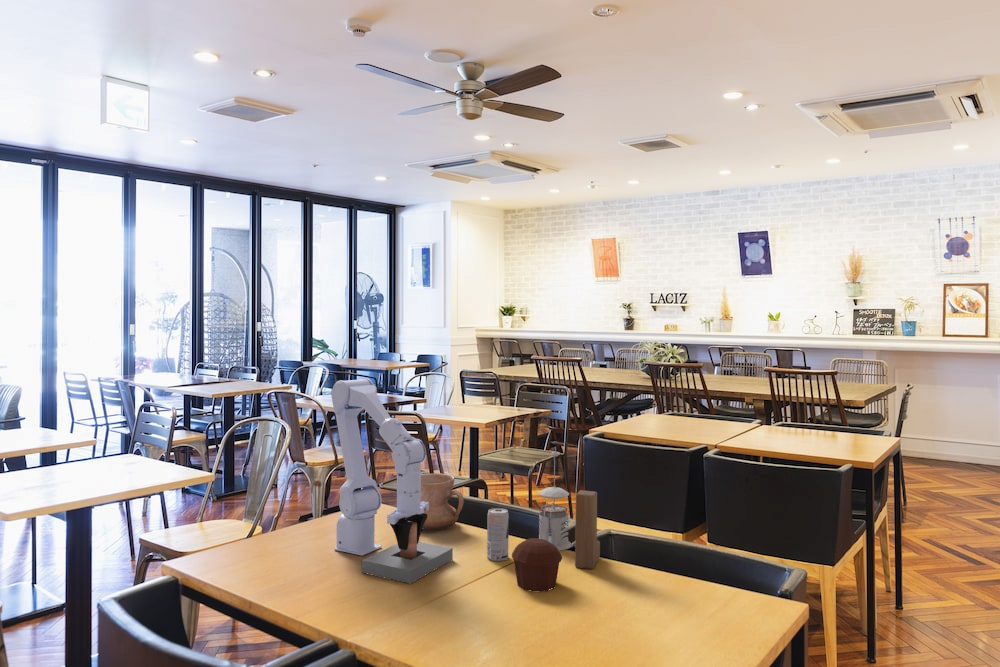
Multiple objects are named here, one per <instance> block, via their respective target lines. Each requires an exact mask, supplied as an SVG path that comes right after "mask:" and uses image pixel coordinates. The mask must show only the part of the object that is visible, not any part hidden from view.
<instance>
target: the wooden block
mask: <svg viewBox="0 0 1000 667" xmlns="http://www.w3.org/2000/svg"><path fill="white" fill-rule="evenodd" d="M597 531H598V492H597V491H592V490H591V491H590V490H581V489H580V490H578V492H577V493H576V494H575V533H574V535H575V538H574V539H575V542H574V544H575V546H574V548H575V550H574V552H575V553H574V556H575V557H574V566H575V568H577V569H579V568H580V569H586V570H593V569H594V568H595V567H596V564H597V563H598V561H599V560H600V557H601V542H600V540H598V532H597Z"/></svg>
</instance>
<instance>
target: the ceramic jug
mask: <svg viewBox="0 0 1000 667" xmlns="http://www.w3.org/2000/svg"><path fill="white" fill-rule="evenodd" d="M454 483H455V477H454V476H453V475H452V474H451V475H450V474H447V473H424V474H422V473H421V502H422V501H423V502H429V510H427V511H425V510H424V513H425V514H427V519H426V521H425V523H424V525H423V527H422V530H425V531H427V530H428V531H437V530H442V529H443V530H444V529H447V528H449V527H451V526H453V525H455V524H456V523H457V521H458V520H459V515H460V513H461V511H462V510H463V508H464V501H465V500H464V496H463V493H462V492H460V491H459V490H456V489H454V490H453V488H454ZM453 496H456V497H457V500H458V505H457V508H455V507H453V506H452V505H450V503H448V501H449V500H450V498H451V497H453Z"/></svg>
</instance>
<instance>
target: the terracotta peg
mask: <svg viewBox="0 0 1000 667" xmlns="http://www.w3.org/2000/svg"><path fill="white" fill-rule="evenodd" d="M408 522H413V524H412V526H411V529H410V533H409V541H408V548H407V549H406V550H403V549H400V558H405V559H409V560H412V559H414V558H416V557H417V522H414V521H408Z"/></svg>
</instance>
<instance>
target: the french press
mask: <svg viewBox="0 0 1000 667" xmlns="http://www.w3.org/2000/svg"><path fill="white" fill-rule="evenodd" d="M550 455H551V457H553V461H554V463H553V464H554V465H553V467H554V468H553V486H551V487H550V486H549V487H546V488H544V489H542V490H540V491H539V492H538V495H539V496H540V497H541V498H544V499H550V500H551V499H553V502H552V503H551V504H549V503H548V501H546V502H545V505H542V506H541V507H540V512H539V514H538V517H539V518H538V521H539V524H538V525H539V526H538V527H539V528H538V532H539V533H538V538H539V539H544V540H547V541H549V542H550V543H552V544H553V545H555V546H556V547H557V548H558V550H559V551H564V550H568V549H570V548H571V547H572V543H571V541H569V532H568V531H569V513H568V512H567V511H568V507H566V506H563V505H561V504H560V505H559V504H555V499H556V500H558V499H564V498H567V497H569V496H570V492H568V491H567V490H565V489H563V488H561V487H556V482H555V481H556V457H558V456H559V453H558V452H557V451H552V452H551V453H550Z"/></svg>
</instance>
